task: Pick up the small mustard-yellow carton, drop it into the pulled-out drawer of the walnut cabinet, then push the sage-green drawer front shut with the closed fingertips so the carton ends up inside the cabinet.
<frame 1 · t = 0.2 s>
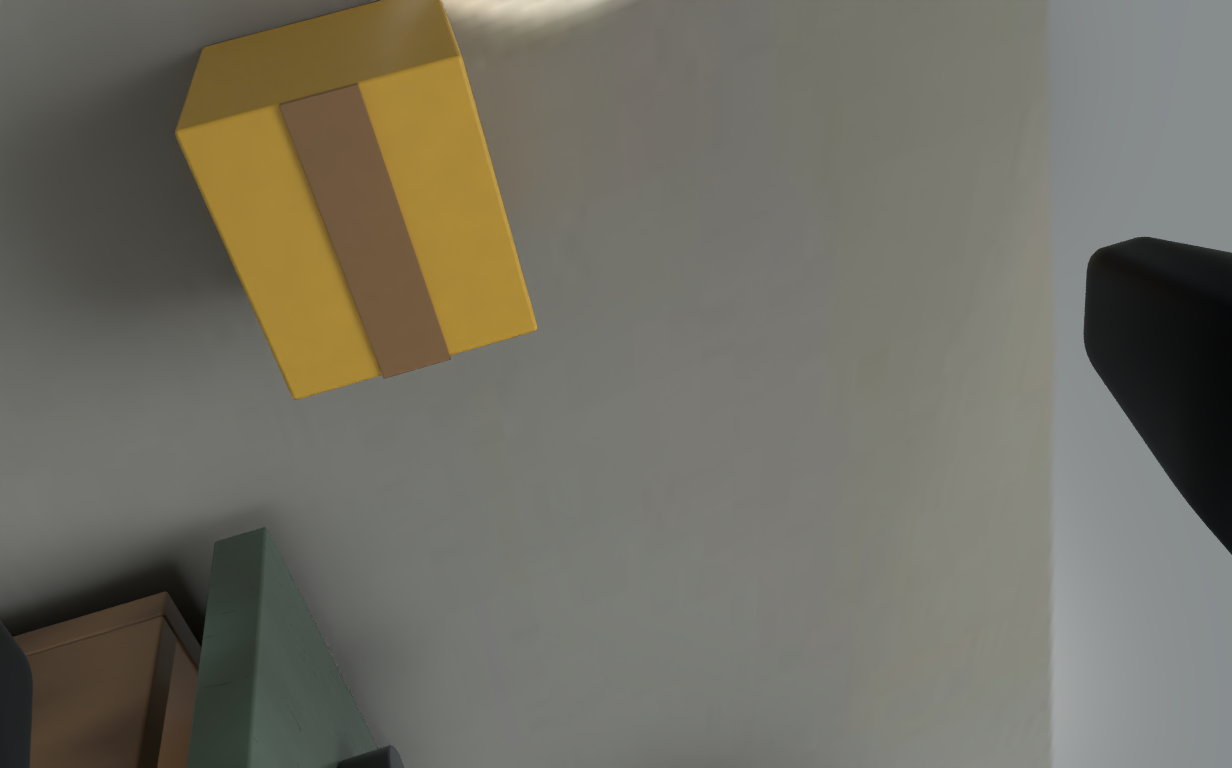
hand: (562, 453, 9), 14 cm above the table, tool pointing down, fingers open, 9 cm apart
small carton: (363, 142, 22), on the table
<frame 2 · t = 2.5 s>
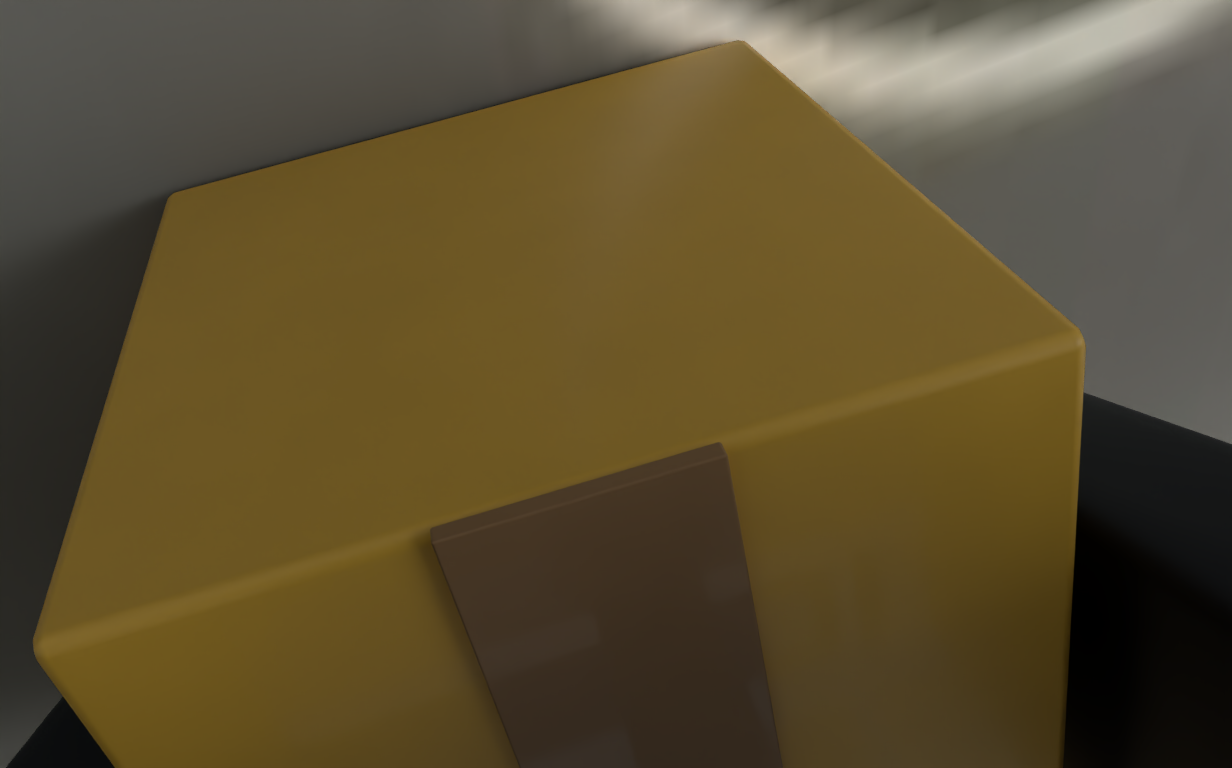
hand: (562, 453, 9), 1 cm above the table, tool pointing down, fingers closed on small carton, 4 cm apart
small carton: (538, 385, 10), on the table, touching gripper
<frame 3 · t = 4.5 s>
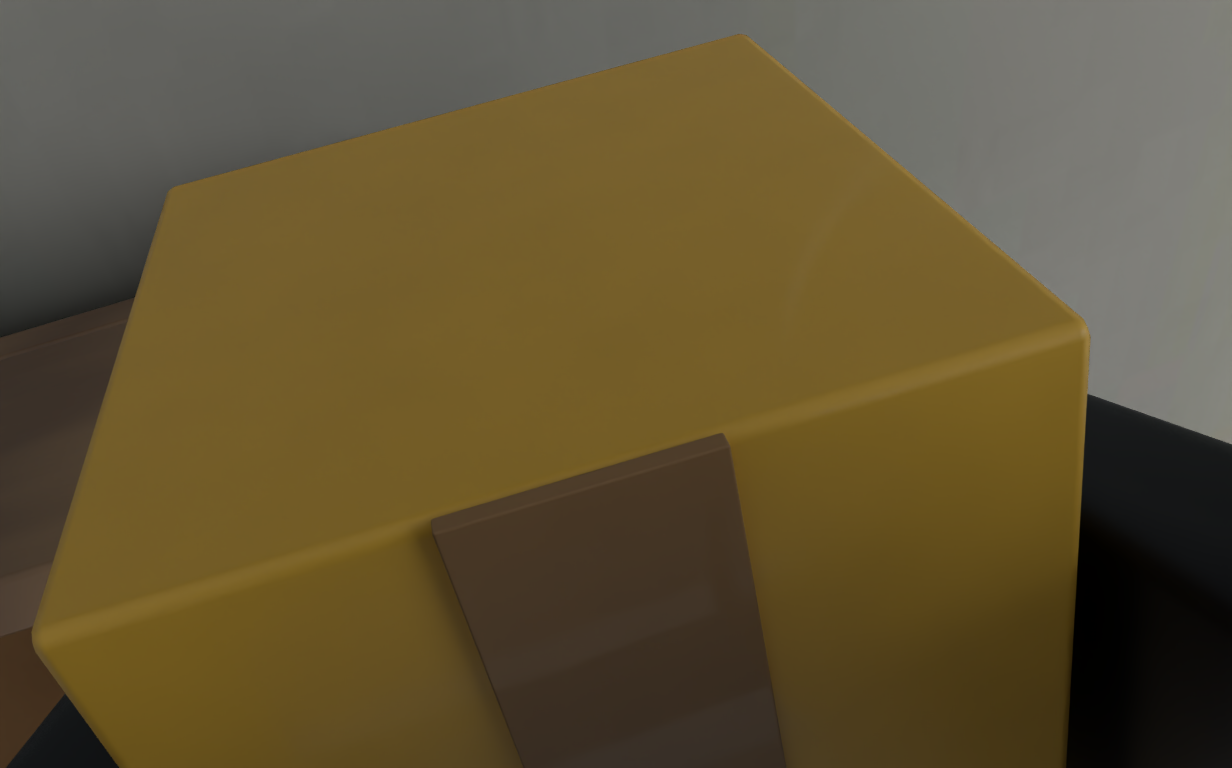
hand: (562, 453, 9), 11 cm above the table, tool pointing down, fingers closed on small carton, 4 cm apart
small carton: (539, 380, 10), point 10 cm above the table, touching gripper
drawer: (241, 642, 17), point 4 cm above the table, slide at 8.5 cm
when the fingers open (6 cm above the table, at t = 7.0 s): small carton drops 2 cm, point 3 cm above the table.
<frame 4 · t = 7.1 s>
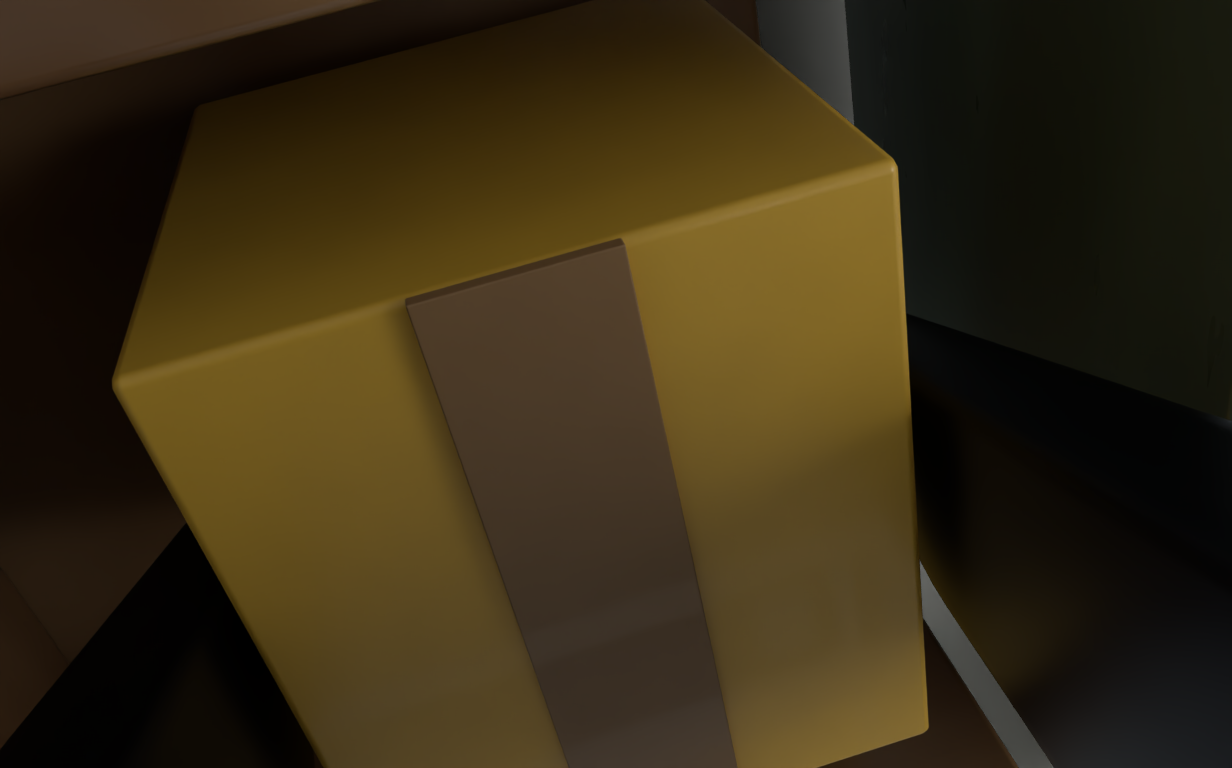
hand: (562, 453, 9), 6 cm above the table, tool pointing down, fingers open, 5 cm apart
small carton: (510, 283, 11), point 3 cm above the table
drawer: (509, 350, 10), point 4 cm above the table, slide at 8.5 cm
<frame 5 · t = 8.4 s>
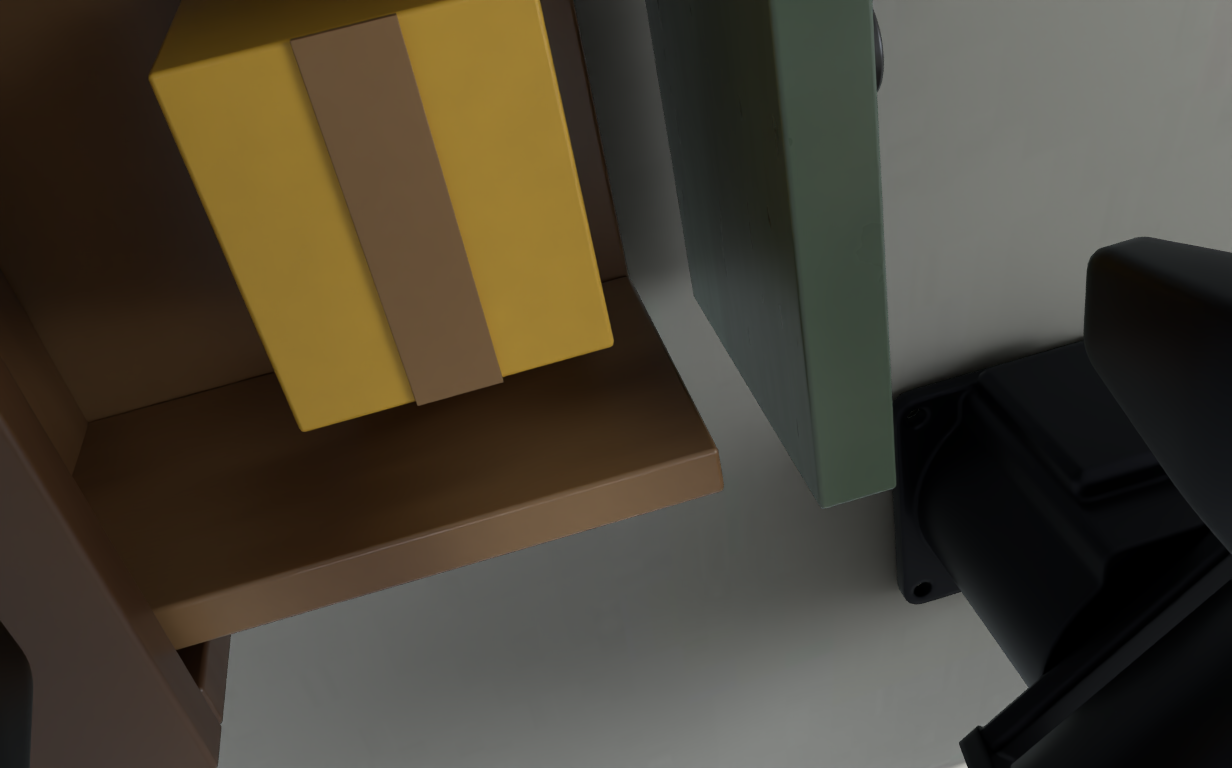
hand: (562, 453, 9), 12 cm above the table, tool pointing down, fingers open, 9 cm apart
small carton: (389, 108, 17), point 2 cm above the table, touching drawer
drawer: (384, 165, 16), point 4 cm above the table, slide at 9.0 cm, touching small carton
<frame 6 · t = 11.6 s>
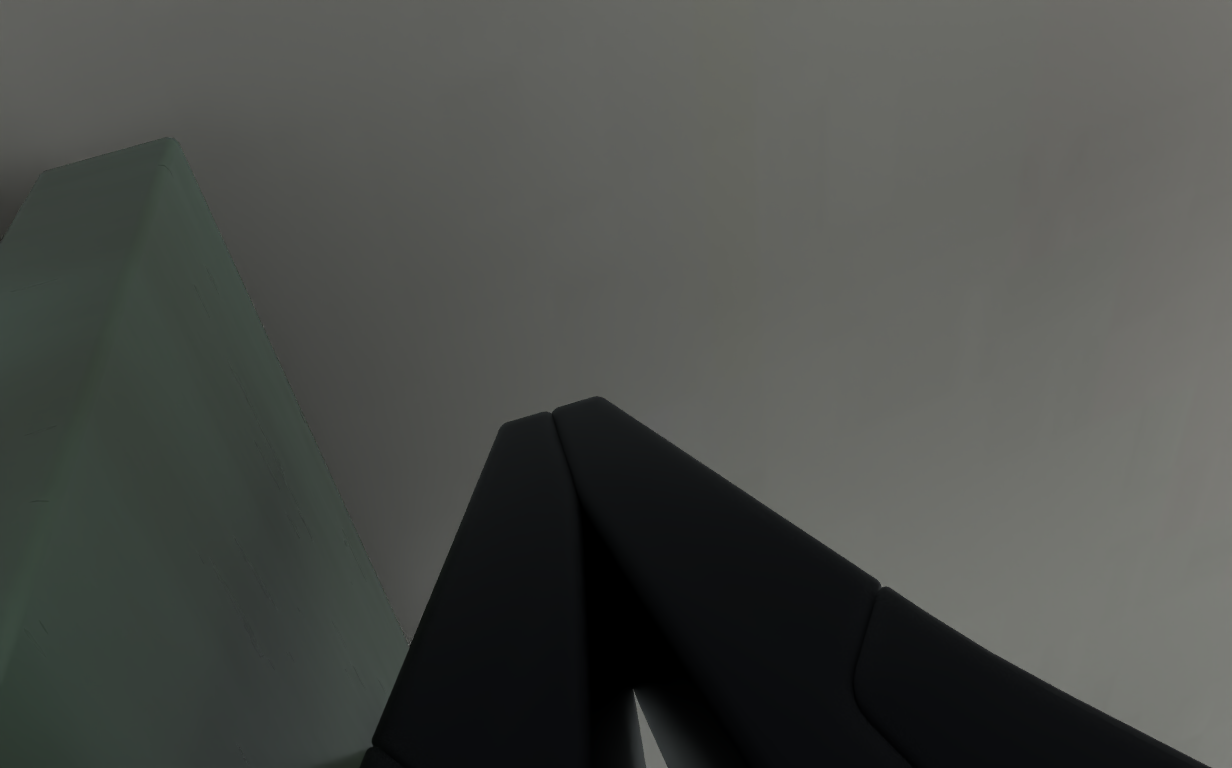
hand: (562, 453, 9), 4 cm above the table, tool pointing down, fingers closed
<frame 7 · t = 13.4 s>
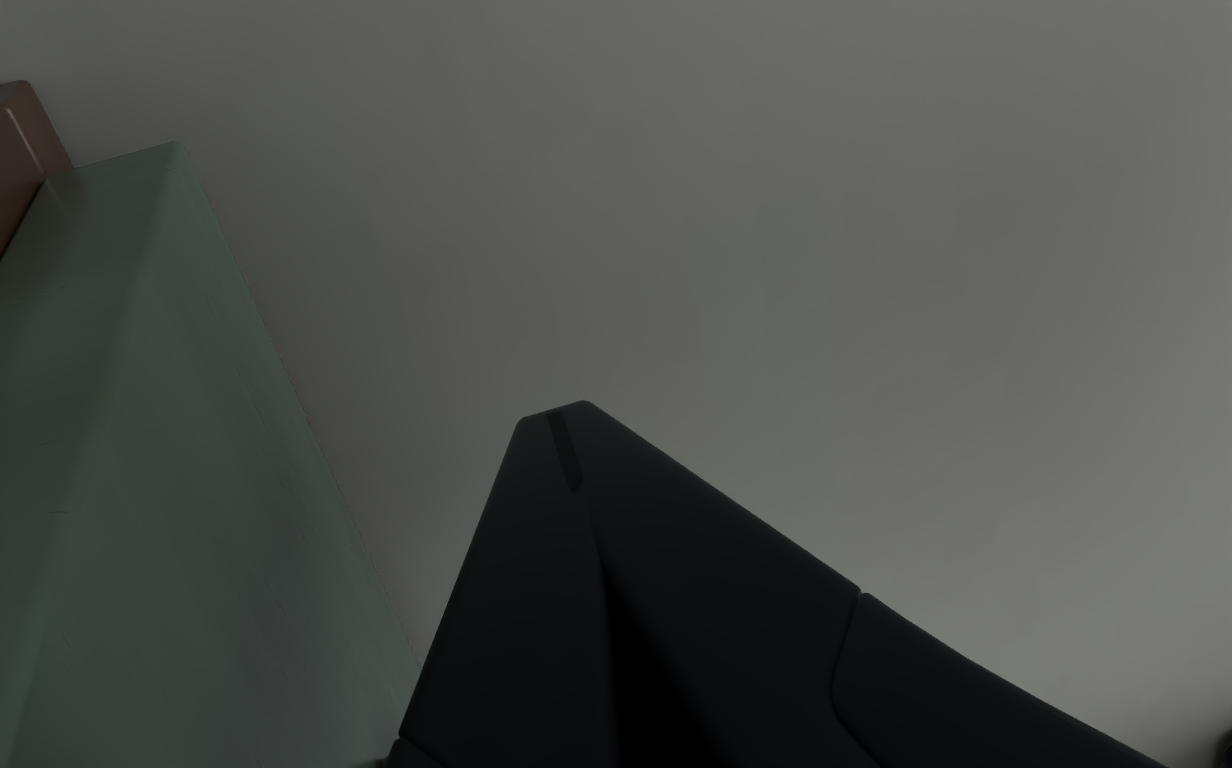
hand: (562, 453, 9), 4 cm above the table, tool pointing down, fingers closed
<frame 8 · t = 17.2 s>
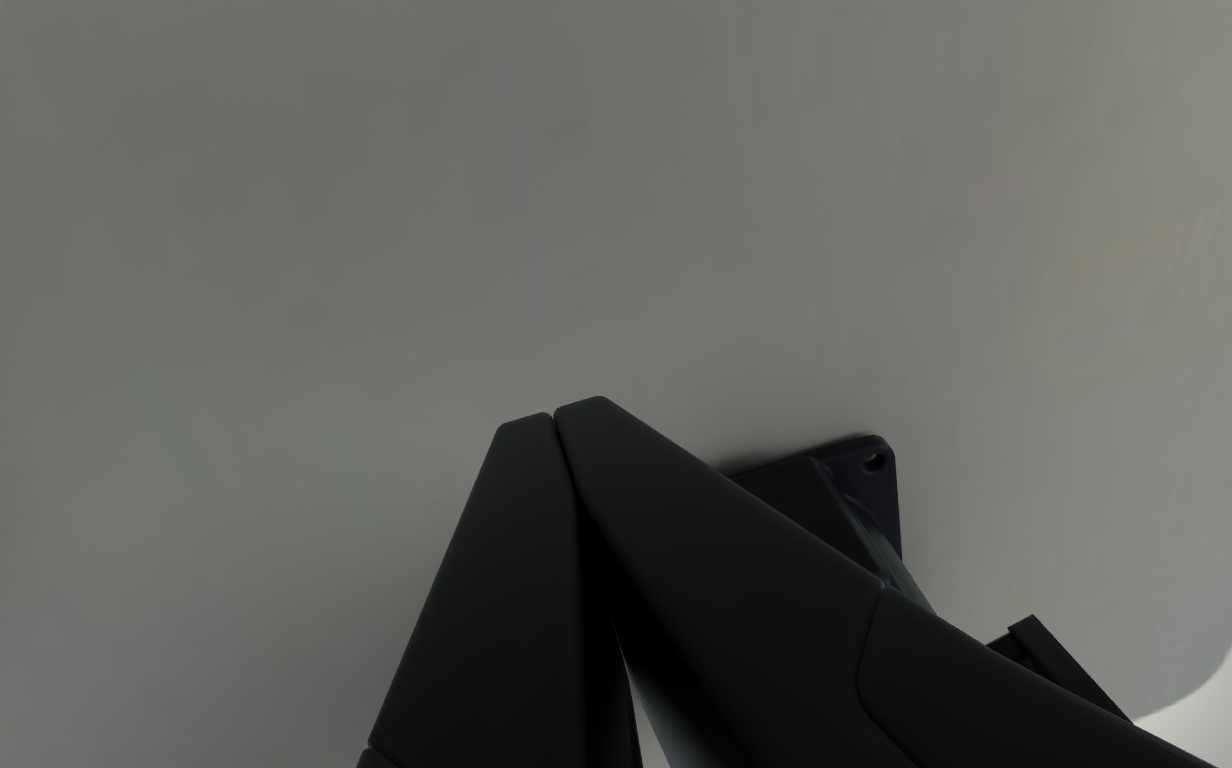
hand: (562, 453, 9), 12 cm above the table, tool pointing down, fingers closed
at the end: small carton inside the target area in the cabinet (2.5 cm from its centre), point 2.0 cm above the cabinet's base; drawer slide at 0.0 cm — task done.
